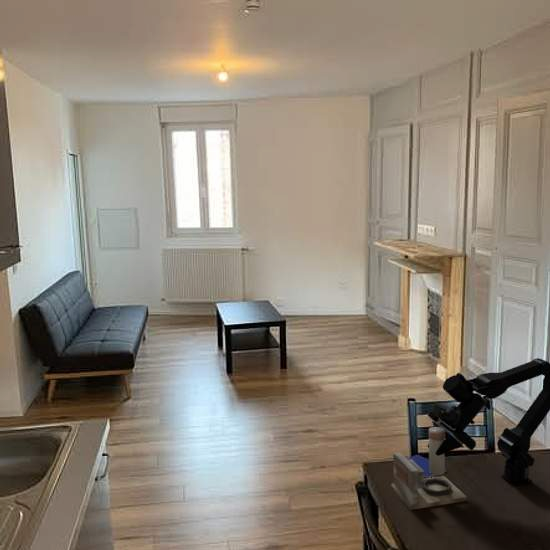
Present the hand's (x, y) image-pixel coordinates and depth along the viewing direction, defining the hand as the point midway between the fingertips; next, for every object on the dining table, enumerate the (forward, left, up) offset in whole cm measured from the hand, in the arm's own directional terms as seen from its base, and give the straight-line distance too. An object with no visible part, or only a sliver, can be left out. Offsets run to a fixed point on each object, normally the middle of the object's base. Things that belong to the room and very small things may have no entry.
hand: (432, 451), depth 167 cm
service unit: (+1, 0, -13) cm, 13 cm away
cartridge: (-1, 0, -7) cm, 7 cm away
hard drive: (-7, -15, -14) cm, 22 cm away
